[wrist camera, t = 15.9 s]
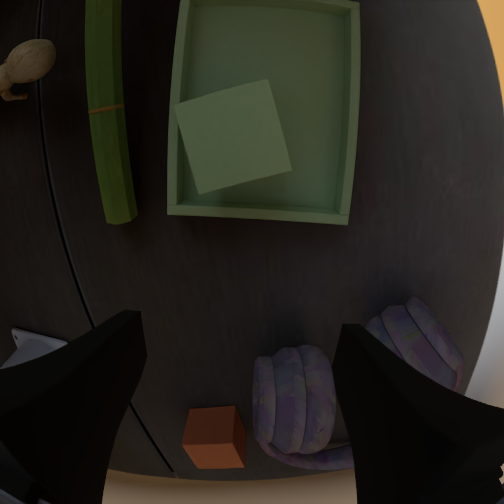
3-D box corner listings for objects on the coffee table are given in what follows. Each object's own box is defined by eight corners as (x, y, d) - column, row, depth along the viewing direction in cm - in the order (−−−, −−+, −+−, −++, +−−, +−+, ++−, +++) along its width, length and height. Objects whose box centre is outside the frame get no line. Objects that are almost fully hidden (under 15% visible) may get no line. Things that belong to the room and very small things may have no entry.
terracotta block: (246, 431, 27) (244, 467, 23) (203, 434, 27) (198, 468, 23) (235, 405, 25) (232, 443, 21) (189, 408, 26) (181, 444, 22)
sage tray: (339, 217, 19) (348, 225, 17) (176, 207, 19) (167, 214, 17) (350, 14, 14) (359, 2, 13) (188, 3, 14) (181, -10, 12)
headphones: (210, 344, 22) (292, 443, 31) (203, 441, 15) (300, 502, 24) (438, 254, 19) (435, 389, 28) (504, 324, 12) (461, 443, 21)
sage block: (284, 164, 18) (293, 170, 14) (212, 183, 18) (198, 195, 14) (265, 93, 16) (268, 78, 12) (192, 113, 17) (173, 105, 13)
